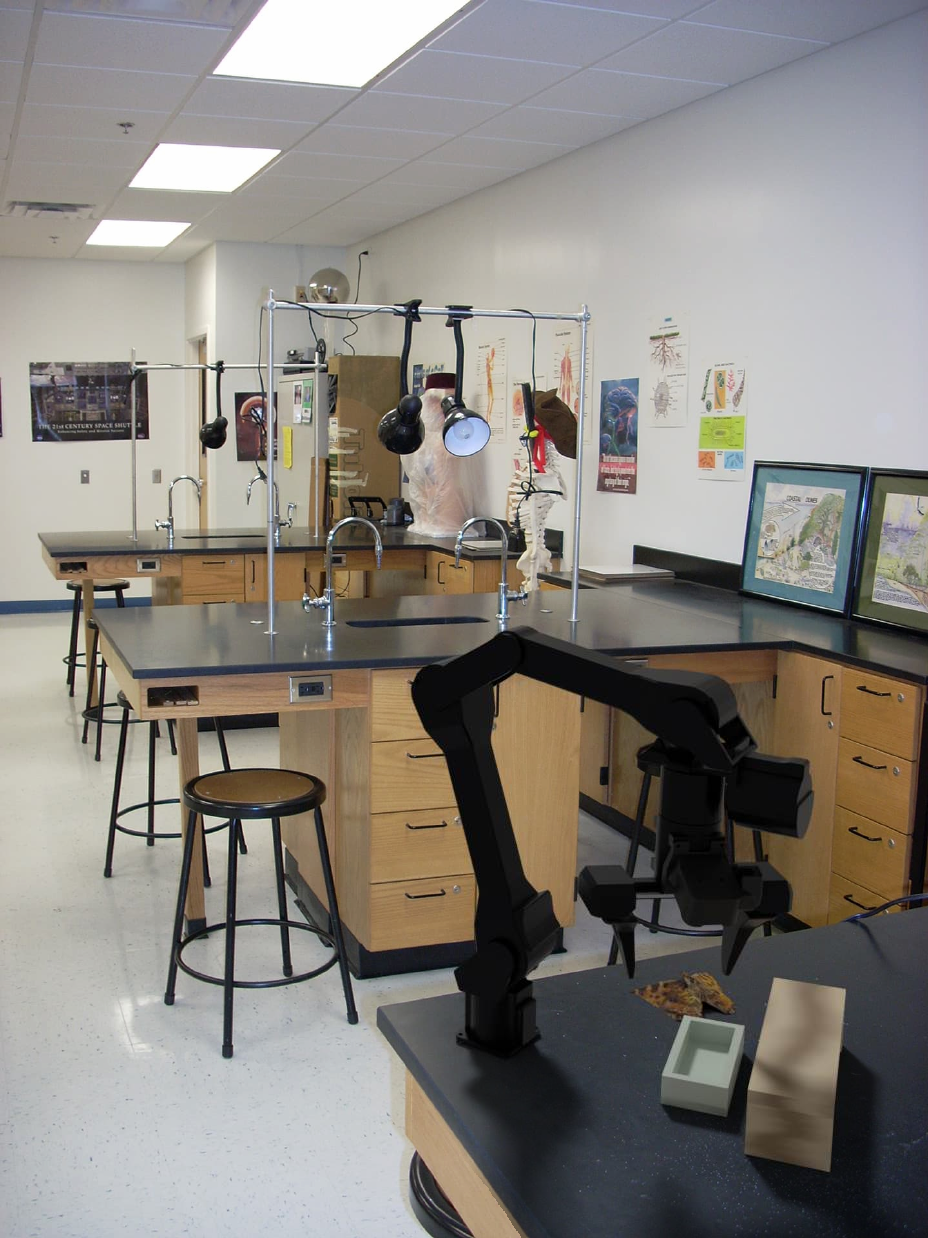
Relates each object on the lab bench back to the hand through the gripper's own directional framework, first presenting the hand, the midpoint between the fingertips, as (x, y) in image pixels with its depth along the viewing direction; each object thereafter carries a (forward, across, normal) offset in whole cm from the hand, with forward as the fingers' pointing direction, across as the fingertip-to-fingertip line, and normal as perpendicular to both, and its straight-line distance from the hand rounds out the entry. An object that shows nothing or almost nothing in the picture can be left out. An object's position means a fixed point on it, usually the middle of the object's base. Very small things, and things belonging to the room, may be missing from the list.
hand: (678, 975), depth 109 cm
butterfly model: (+12, +8, +17) cm, 22 cm away
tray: (+11, +4, +1) cm, 12 cm away
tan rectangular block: (+11, +12, -3) cm, 16 cm away
